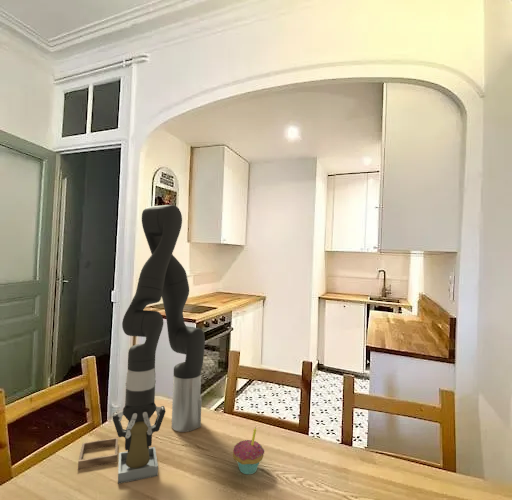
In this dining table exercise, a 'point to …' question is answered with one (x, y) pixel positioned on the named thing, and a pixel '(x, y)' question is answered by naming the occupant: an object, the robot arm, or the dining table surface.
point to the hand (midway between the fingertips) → (138, 448)
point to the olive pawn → (138, 446)
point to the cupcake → (248, 455)
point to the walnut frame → (98, 460)
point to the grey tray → (137, 473)
